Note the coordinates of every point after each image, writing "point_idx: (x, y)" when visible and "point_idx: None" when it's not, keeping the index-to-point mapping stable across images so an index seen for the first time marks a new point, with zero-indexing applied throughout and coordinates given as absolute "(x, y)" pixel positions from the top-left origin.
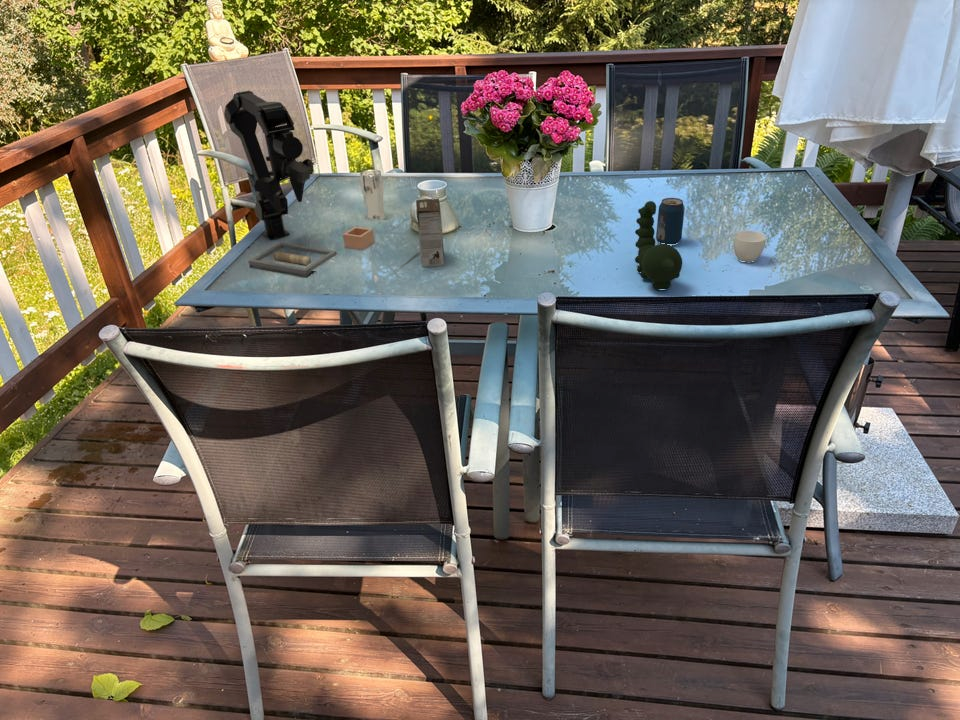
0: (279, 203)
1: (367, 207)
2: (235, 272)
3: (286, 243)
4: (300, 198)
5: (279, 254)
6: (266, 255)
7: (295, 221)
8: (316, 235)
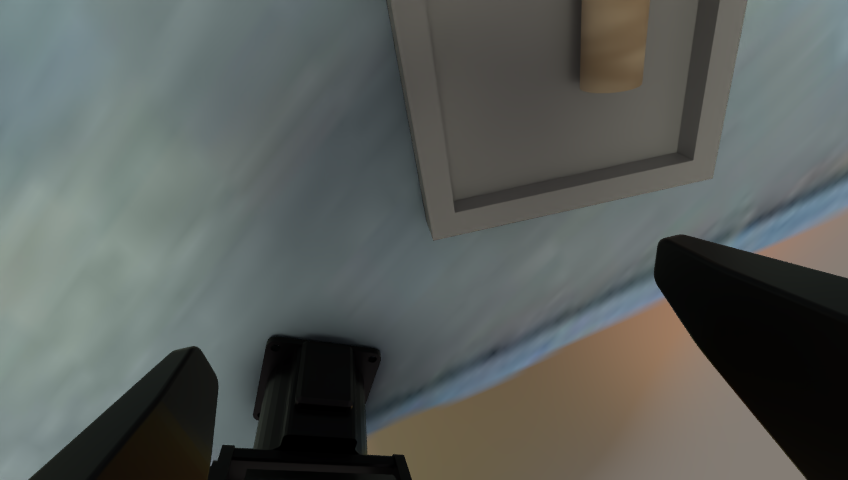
0: (837, 294)
1: None
2: (752, 172)
3: (428, 197)
4: (174, 387)
5: (644, 36)
6: (587, 176)
7: None
8: (155, 214)
